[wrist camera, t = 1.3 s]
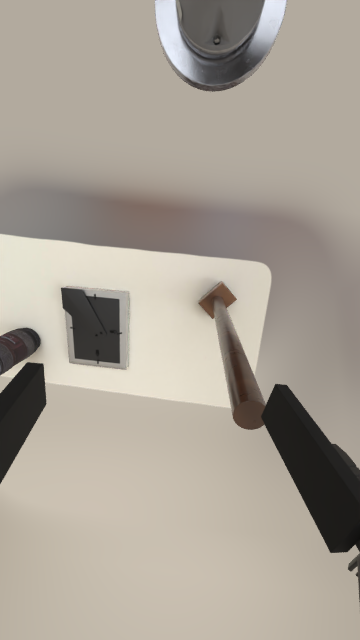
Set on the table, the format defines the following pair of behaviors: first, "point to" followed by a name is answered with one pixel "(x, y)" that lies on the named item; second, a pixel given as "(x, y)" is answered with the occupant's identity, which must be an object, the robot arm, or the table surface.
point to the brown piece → (234, 361)
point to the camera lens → (17, 347)
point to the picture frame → (97, 326)
